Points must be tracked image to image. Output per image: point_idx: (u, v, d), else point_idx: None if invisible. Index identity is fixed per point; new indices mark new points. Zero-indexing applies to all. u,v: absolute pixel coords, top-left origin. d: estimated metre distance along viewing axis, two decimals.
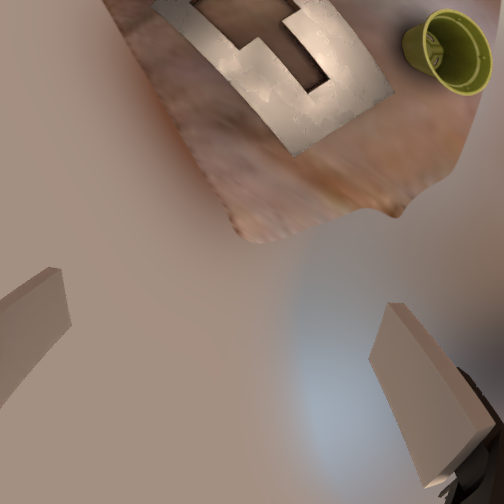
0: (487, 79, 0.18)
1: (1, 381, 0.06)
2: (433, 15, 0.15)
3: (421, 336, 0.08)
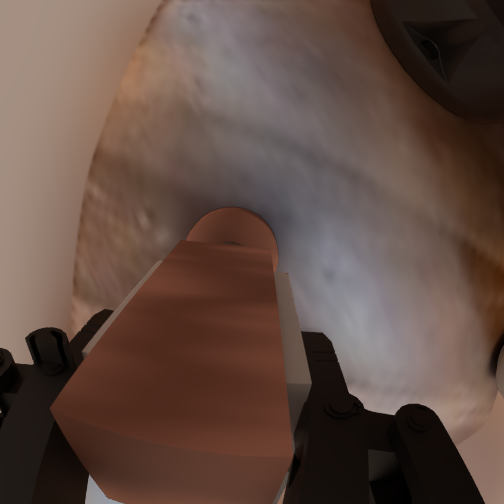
0: None
1: None
2: None
3: (281, 298, 0.10)
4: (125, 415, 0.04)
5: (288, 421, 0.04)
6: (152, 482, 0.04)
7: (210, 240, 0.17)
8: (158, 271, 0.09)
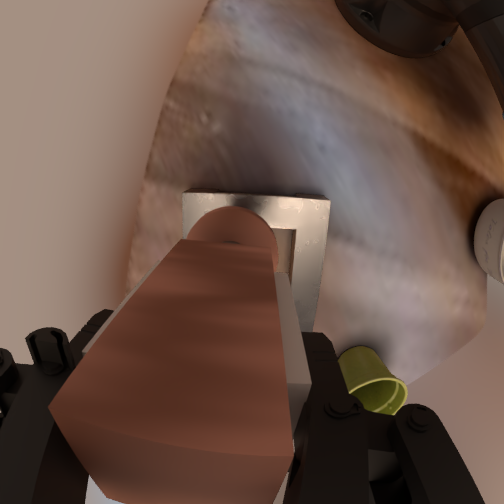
0: None
1: None
2: (376, 380, 0.27)
3: (281, 298, 0.10)
4: (124, 413, 0.04)
5: (288, 420, 0.04)
6: (151, 482, 0.04)
7: (210, 239, 0.17)
8: (158, 270, 0.09)
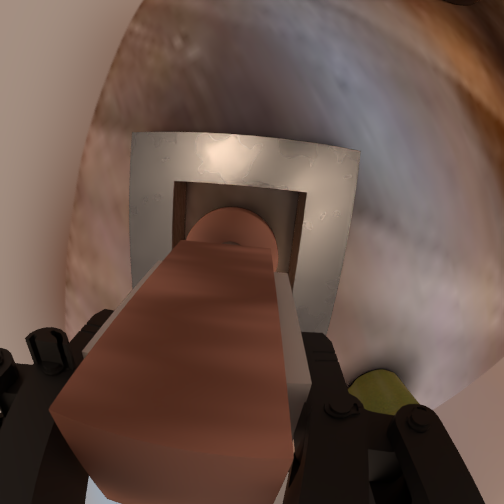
0: None
1: None
2: None
3: (281, 298, 0.10)
4: (124, 415, 0.04)
5: (288, 422, 0.04)
6: (152, 484, 0.04)
7: (210, 239, 0.17)
8: (158, 271, 0.09)
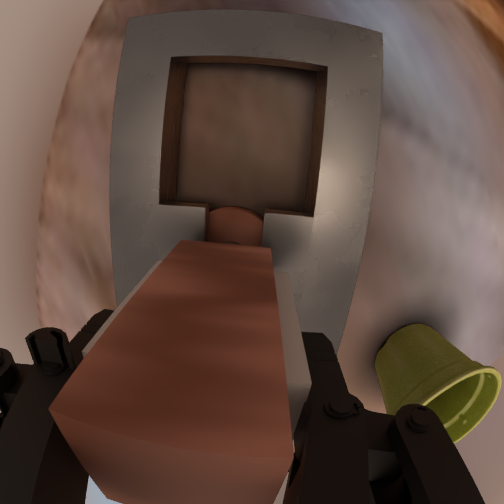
0: None
1: None
2: (471, 374, 0.12)
3: (281, 298, 0.10)
4: (124, 414, 0.04)
5: (288, 421, 0.04)
6: (152, 483, 0.04)
7: (210, 239, 0.17)
8: (158, 271, 0.09)
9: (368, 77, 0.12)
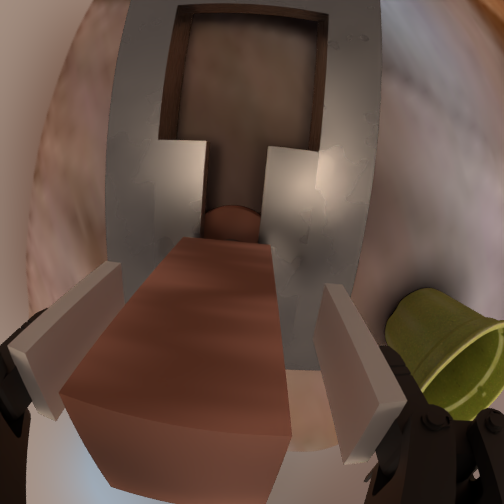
0: None
1: (69, 375, 0.07)
2: (495, 327, 0.11)
3: (348, 313, 0.09)
4: (132, 396, 0.04)
5: (287, 403, 0.05)
6: (156, 466, 0.04)
7: (211, 237, 0.17)
8: (162, 266, 0.10)
9: (367, 25, 0.11)
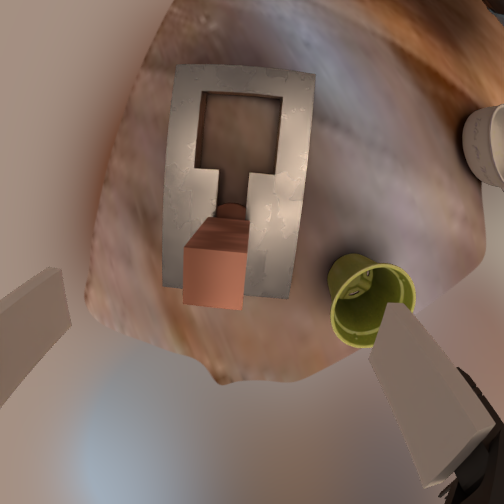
0: None
1: (1, 381, 0.06)
2: (379, 266, 0.25)
3: (421, 336, 0.08)
4: (205, 247, 0.18)
5: (247, 249, 0.19)
6: (208, 275, 0.19)
7: None
8: (203, 225, 0.24)
9: (305, 101, 0.26)
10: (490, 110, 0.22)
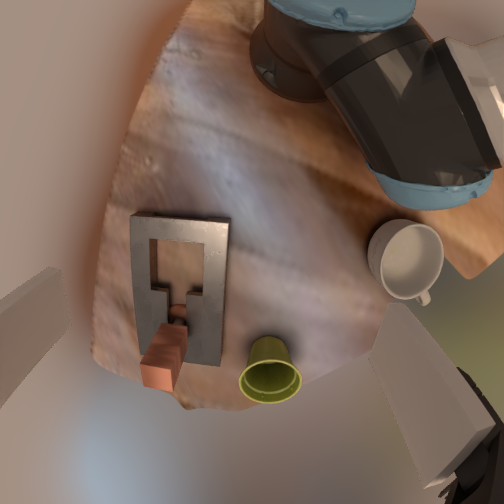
0: (280, 400, 0.42)
1: (1, 381, 0.06)
2: (268, 360, 0.39)
3: (421, 336, 0.08)
4: (150, 363, 0.32)
5: (171, 365, 0.33)
6: (153, 376, 0.33)
7: (173, 316, 0.46)
8: (155, 336, 0.38)
9: (220, 245, 0.39)
10: (391, 233, 0.35)
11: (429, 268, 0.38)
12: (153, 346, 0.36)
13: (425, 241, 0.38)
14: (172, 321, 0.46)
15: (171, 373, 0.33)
